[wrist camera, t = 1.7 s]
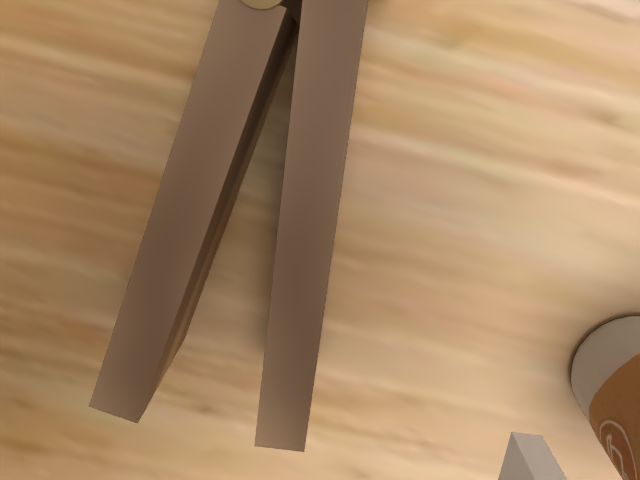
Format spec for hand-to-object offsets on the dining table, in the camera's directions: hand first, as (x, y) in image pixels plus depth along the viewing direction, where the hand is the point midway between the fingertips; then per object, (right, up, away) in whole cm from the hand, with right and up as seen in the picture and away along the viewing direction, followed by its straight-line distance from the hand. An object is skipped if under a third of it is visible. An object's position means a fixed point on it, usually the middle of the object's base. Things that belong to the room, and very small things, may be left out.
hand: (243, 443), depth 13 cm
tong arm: (-3, +7, +12) cm, 15 cm away
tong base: (+1, +9, +12) cm, 15 cm away
